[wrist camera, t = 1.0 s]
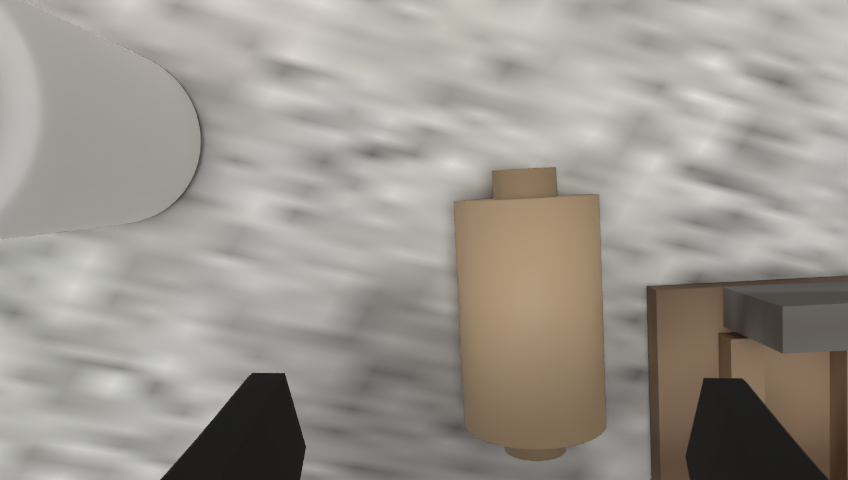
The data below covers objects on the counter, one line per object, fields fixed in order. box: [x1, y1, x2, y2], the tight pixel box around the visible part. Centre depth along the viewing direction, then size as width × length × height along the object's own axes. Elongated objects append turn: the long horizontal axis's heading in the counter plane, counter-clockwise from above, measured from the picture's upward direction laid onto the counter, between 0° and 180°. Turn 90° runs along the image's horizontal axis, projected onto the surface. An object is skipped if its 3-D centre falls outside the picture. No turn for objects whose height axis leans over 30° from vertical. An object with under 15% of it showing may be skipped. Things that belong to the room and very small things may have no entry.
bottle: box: [454, 167, 606, 461], centre depth 23 cm, size 10×5×5 cm, turn 3°
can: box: [0, 0, 201, 239], centre depth 19 cm, size 6×6×12 cm
